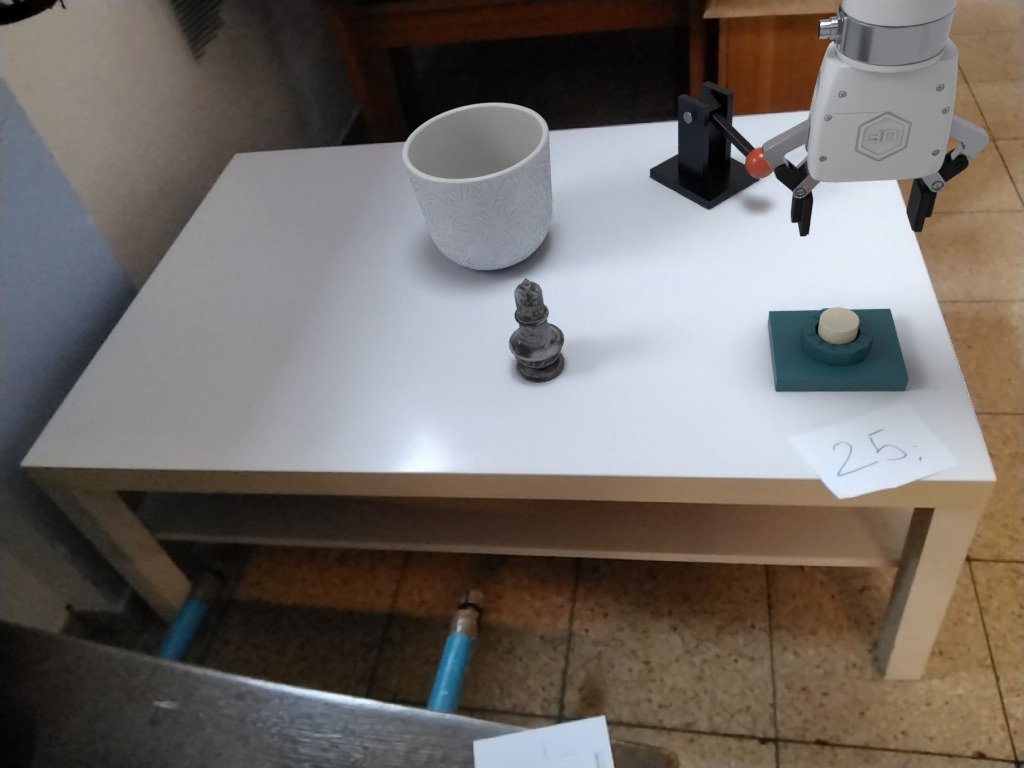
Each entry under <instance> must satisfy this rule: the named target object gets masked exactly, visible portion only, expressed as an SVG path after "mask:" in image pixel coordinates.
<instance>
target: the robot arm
mask: <svg viewBox="0 0 1024 768" xmlns="http://www.w3.org/2000/svg"><path fill="white" fill-rule="evenodd" d="M957 2H958V0H842V2H839V5H838V11H836V12H835V15H834V16H829V18H826V19H819V20H818V23H817V39H818V40H825V39H826V40H827V39H828V41H831V42H830V43H829V44H828V45H827V48H826V51H825V53H824V56H823V58H822V62H821V64H820V68H819V70H818V73H817V78H816V82H815V86H814V90H813V94H812V99H811V103H810V107H809V111H808V118H807V119H806V120H803V121H801V122H800V123H798V124H796V125H795V126H794V125H793V126H792V127H790V128H789V129H787V130H785V131H783V132H782V133H779V134H778V135H776V136H774V137H771V138H770V139H768V140H767V141H765V142H764V143H763V144H762V146H761V147H762V151H763V157H764V159H765V160H766V162H767V163H768V165H769V166H770V168H771V169H772V170H773V172H772V173H773V174H774V176H775V178H776V179H777V180H778V182H780V183H781V184H782V185H784V187H786V188H787V189H788V190H790V192H792V197H791V205H790V222H791V224H797V227H798V233H799V237H800V238H801V237H807V236H809V235H810V230H811V221H812V215H813V206H814V196H813V190H814V189H815V188H816V187H817V186H818V185H819V184H820V183H829V184H836V183H839V184H840V183H858V182H859V183H862V182H881V181H884V182H885V181H899V180H912V184H911V188H910V192H909V197H908V201H907V205H906V216H907V219H908V222H909V227H910V229H911V231H912V232H914V233H922V232H923V229H924V226H925V225H924V224H925V221H926V219H927V218H932V215H933V211H934V208H935V204H936V201H937V200H936V199H937V197H938V196H937V195H938V193H939V192H941V191H943V190H944V189H945V188H946V183H947V182H949V181H950V180H952V179H954V178H955V177H956V176H957V175H959V174H960V173H962V172H963V171H965V170H966V169H967V168H968V167H969V165H970V162H971V161H972V160H974V159H975V158H976V157H977V156H978V155H979V154H980V153H981V152H982V151H983V150H984V149H985V148H986V147H987V146H988V145H989V144H990V138H989V135H988V134H987V132H986V129H984V128H983V127H981V126H978V125H976V124H974V123H972V122H970V121H969V120H967V119H965V118H962V117H960V116H958V115H956V114H954V109H955V101H956V93H957V83H958V73H959V72H958V71H959V49H958V47H957V46H956V44H955V43H954V41H952V39H951V38H950V33H951V29H952V24H953V21H954V16H955V13H956V12H955V11H956V7H957ZM950 138H952V139H953V140H956V141H958V142H959V143H958V144H957V147H955V148H952V149H950V150H949V151H948V152H947V149H948V146H949V140H950ZM803 145H804V148H805V151H806V154H807V155H806V156H805V157H804V158H803V159H802V160H801V161H800V162H799V163H798V164H797V165H795V164H793V163H792V162H791V161H790V160H789V159H787V158H786V157H785V155H787V154H788V153H790V152H792V151H794V150H796V149H798V148H800V147H802V146H803Z"/></svg>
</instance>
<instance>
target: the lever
mask: <svg viewBox="0 0 1024 768" xmlns="http://www.w3.org/2000/svg"><path fill="white" fill-rule="evenodd" d="M693 98H694V99H697V100H699V101H701V102H703V103H706V104H708V105H710V109H709V123H710V122H711V123H712V124H713V125H714V126H715V127H716V128H717V129H718V130H719V131H720V132H721V133H722V134H723V135H724V136H725V137H726V138H727V139H728V140H729V141H730V142H731V145H733V146H734V147H735V148H736V149H737V150H738V151H739V152H740V153H741V155H743V157H745V160H744V164H745V168H746V171H747V172H748V174H749V175H750V176H752V177H754V178H759V180H761V179H766V178H767V177H769V176H771V174H773V173H774V172H773V170H772V169H771V168H770V166H769V165H768V163H767V162H766V160H765V159H764V157H763V151H762V146H759V147H754V145H752V144H751V143H750V142H749V140H747V139H746V138H745V137H744V136H743V135H742V134H741V133H740V132H739V131H738V130H737V129H736V128H735V127H734V126H733V124H732V125H731V124H730V123H729V122H728V121H727V120H726V119H725V118H724V117H723V116H722V115H721V114H720V113H719V111H720V109H721V107H722V104H721V103H720V102H719V101H718V100H717V99H716V98H715V97H714V96H713V95H712V94H711V93H710V92H709V91H708V90H707V91H705V92H703V93H702V92H701V93H699V94H698V95H695V96H694V97H693Z"/></svg>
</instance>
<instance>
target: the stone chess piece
mask: <svg viewBox="0 0 1024 768" xmlns="http://www.w3.org/2000/svg"><path fill="white" fill-rule="evenodd" d="M513 297H514V303H515V307H516V309H515V312H514V314H513V315H514V317H513V318H514V320H515V322H516V323H517V324H518V328H517V329H516V330H514V331H513V332H512V334H511V336H510V337H509V340H508V348H509V351H510V353H511V354H512V355H513V357H514V358H516V363H515V368H516V372H517V374H518V376H520V377H521V379H524V380H525V381H528V382H531V383H544V382H548V381H552V380H553V379H556V378H557V377H558V376H560V374H561V373H562V372H563V370H564V368H565V364H566V363H565V362H566V361H565V357H564V355H563V354H562V348H563V346H564V343H565V334H564V333H563V331H562V330H561V328H560V327H558V326H557V325H555V324H553V323H551V322H548V318H549V316H550V309H549V307H548V306H547V305H546V304H545V301H544V294H543V289H542V288H541V285H540V284H539V283H537V282H535V281H532V280H529V279H528V278H524V279H523V280H522V282H520V283H519V284H518V285H517V286H516V287H515V289H514V293H513Z"/></svg>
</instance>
